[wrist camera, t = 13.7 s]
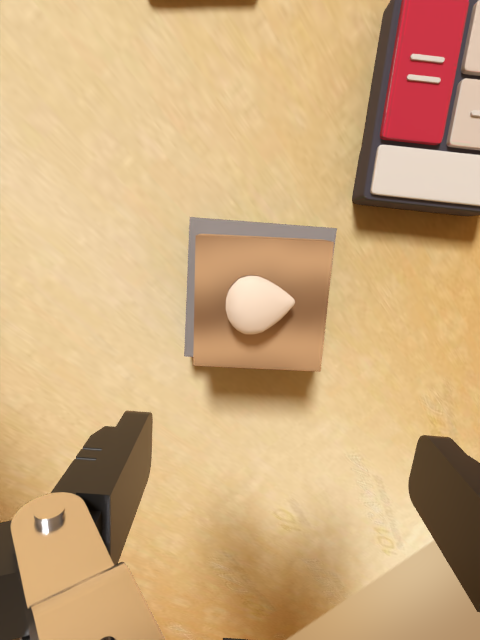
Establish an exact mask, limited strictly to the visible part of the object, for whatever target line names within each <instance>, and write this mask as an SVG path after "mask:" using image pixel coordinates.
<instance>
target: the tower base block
mask: <svg viewBox="0 0 480 640" xmlns="http://www.w3.org/2000/svg"><path fill="white" fill-rule="evenodd" d="M336 230H337V228H326V227H313V226H299V225H286V224H273V223H260V222H247V221H234V220H221V219H208V218H195V217H190V226H189V251H188V276H187V302H186V327H185V352H184V356H188V357H193V351H194V294H195V237H196V235H198V234H220V235H241V236H262V237H282V238H303V239H323V240H327V241H332V242H334V245H335V238H336ZM333 253H334V248H333ZM332 260H333V258H332ZM331 268H332V267H331Z"/></svg>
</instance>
